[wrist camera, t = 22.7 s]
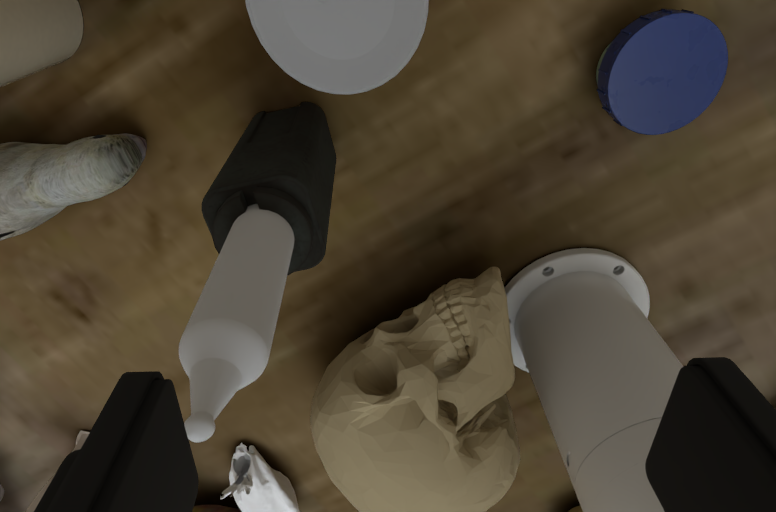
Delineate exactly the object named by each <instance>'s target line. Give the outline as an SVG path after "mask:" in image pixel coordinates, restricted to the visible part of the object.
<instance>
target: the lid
mask: <svg viewBox="0 0 776 512" xmlns="http://www.w3.org/2000/svg"><path fill="white" fill-rule="evenodd" d="M693 13H694V12H692V11H688V10H683V9H682V10H681V11H679V10H667V9H661V10H659V11H655V12H652V13H649V14H646V15H644V16H642V15H641V16H640V18H638V19H636V20H635V21H633V22H632V23H630V24H629V25H628V26H627V27H625V28H624V29H622V30H621V32H620V33H619V34H618V35H617V36H616V37H615V39H614V40H613V41H612V43H611V44H610V46H609V47H608V48H607V49H606V50H607V51H606V53H605V55H604V57H603V59H602V62H601V65H600V68H599V69H598V71H599V73H598V89H597V91H598V93H599V98H600V101H601V103H602V105H603V107H602V108H603V109H604V110H606V111H607V113H608V114H609V115H610V116H611V117H612V118H613V119H614V121H615V122H616V123H618V124H619V125H621V126H622V125H623V126H625V127H626V128H628V129H629V130H632V131H634V132H636V133H640V134H646V135H657V134H664V133H668V132H671V131H674V130H677V129H679V128H681V127H683V126H685V125H687V124H688V123H690V122H691V121H693V120H694V119H695V118H697V117H698V116H699V115H700V114H701V113H702V112H703V111H704V110H705V109H706V108H707V107H708V106H709V105H710V104H711V102H712V101H713V99H714V98H715V97H716V95H717V93H718V91H719V90H720V88H721V85H722V83H723V81H724V78H725V74H726V70H727V64H728V51H727V46H726V42H725V39H724V37H723V35H722V33H721V31H720V30H719V28H718V27H717V26H716V25H715V24H714V23H713V22H711V21H710V20H709V19H707V18H705V17H703V16H700V15H697V14H693Z"/></svg>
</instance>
